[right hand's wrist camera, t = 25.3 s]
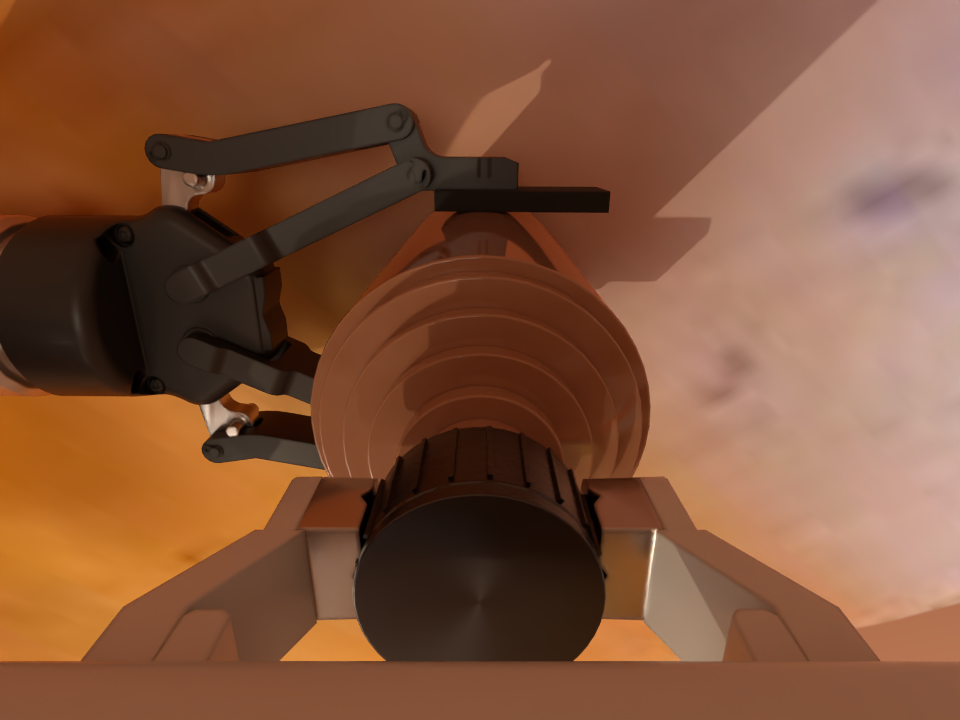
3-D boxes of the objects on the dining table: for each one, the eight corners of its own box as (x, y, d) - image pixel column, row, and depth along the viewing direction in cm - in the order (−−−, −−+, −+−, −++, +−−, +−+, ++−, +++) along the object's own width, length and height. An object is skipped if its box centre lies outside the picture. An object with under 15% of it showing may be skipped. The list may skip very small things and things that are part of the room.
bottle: (382, 219, 29) (126, 396, 8) (542, 177, 28) (710, 254, 7) (427, 367, 31) (323, 778, 11) (573, 332, 31) (760, 703, 10)
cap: (375, 413, 10) (347, 480, 8) (601, 430, 10) (631, 501, 8) (371, 592, 11) (348, 688, 9) (570, 605, 11) (589, 704, 9)
